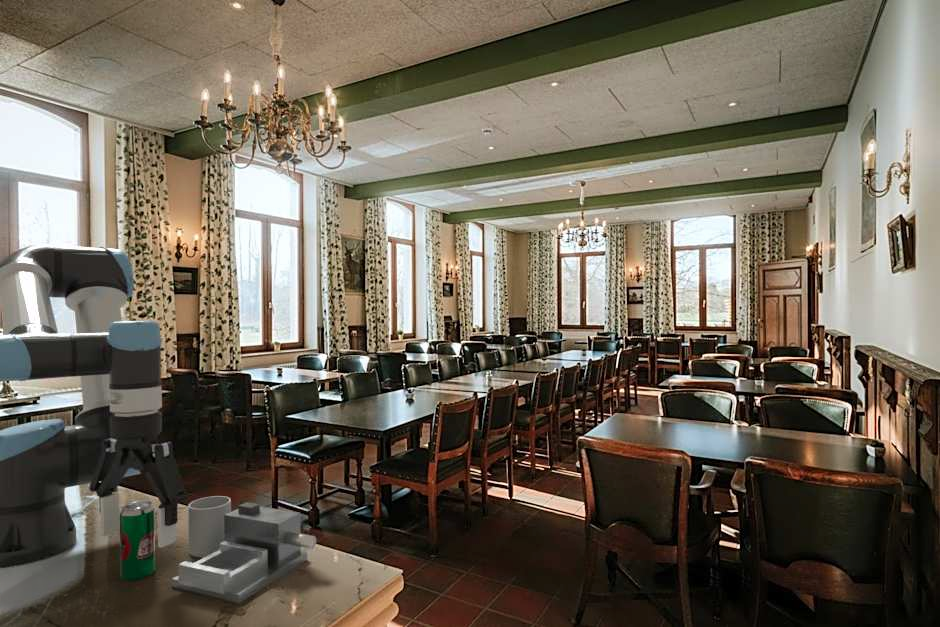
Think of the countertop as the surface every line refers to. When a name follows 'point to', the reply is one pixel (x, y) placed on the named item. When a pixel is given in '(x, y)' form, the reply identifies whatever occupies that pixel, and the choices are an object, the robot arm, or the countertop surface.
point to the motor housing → (248, 554)
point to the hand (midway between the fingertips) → (137, 538)
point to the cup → (207, 524)
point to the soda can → (137, 540)
